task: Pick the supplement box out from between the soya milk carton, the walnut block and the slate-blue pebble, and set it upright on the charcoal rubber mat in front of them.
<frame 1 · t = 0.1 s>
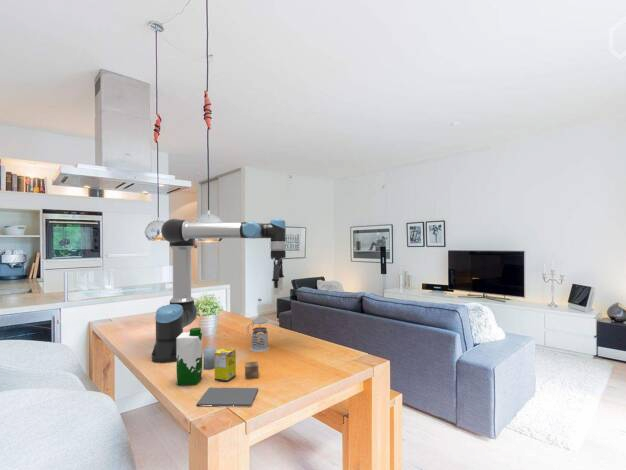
hand: (278, 292, 167), 28 cm above the table, tool pointing down, fingers open, 13 cm apart
charcoal mat: (228, 397, 115), on the table
walnut block: (251, 376, 132), on the table
grey wire-handled lantern: (258, 348, 167), on the table
soya milk: (189, 381, 128), on the table
slate-blue pebble: (209, 367, 142), on the table
supplement box: (225, 378, 131), on the table
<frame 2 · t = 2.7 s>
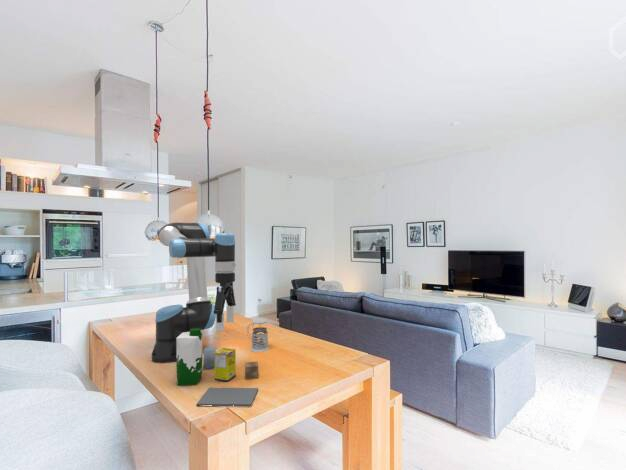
hand: (225, 326, 131), 20 cm above the table, tool pointing down, fingers open, 13 cm apart
nothing on the table moved.
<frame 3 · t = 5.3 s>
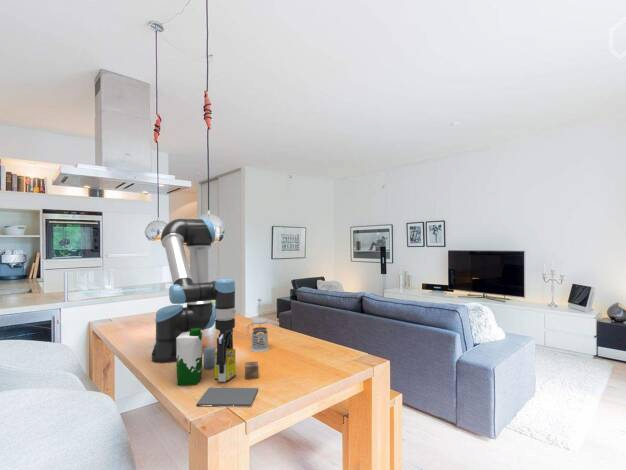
hand: (225, 376, 131), 1 cm above the table, tool pointing down, fingers closed on supplement box, 7 cm apart
supplement box: (225, 378, 131), on the table, touching gripper
everything else where it was.
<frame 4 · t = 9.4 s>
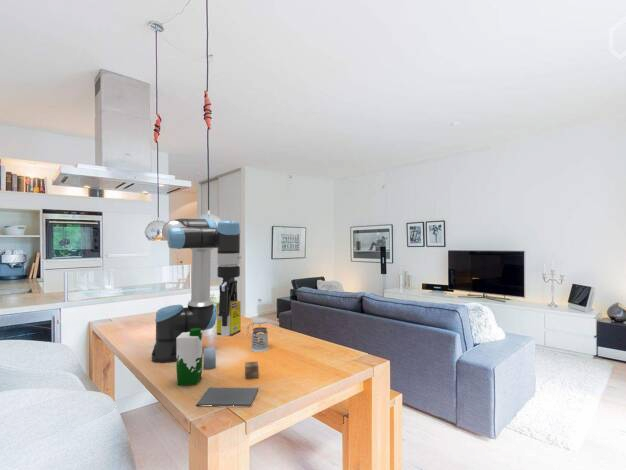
hand: (228, 331, 115), 23 cm above the table, tool pointing down, fingers closed on supplement box, 7 cm apart
supplement box: (228, 334, 115), point 22 cm above the table, touching gripper
everything else where it was.
when the fingers open (3 cm above the table, at t = 13.7 s): supplement box drops 2 cm, resting on charcoal mat.
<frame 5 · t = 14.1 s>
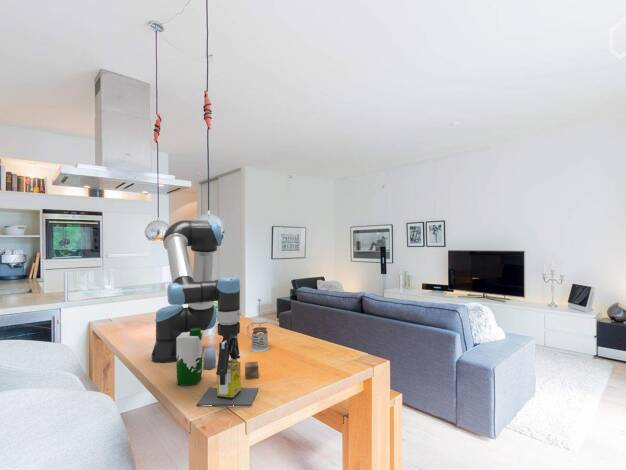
hand: (228, 385, 115), 4 cm above the table, tool pointing down, fingers open, 12 cm apart
supplement box: (229, 395, 115), point 1 cm above the table, touching charcoal mat
everything else where it was.
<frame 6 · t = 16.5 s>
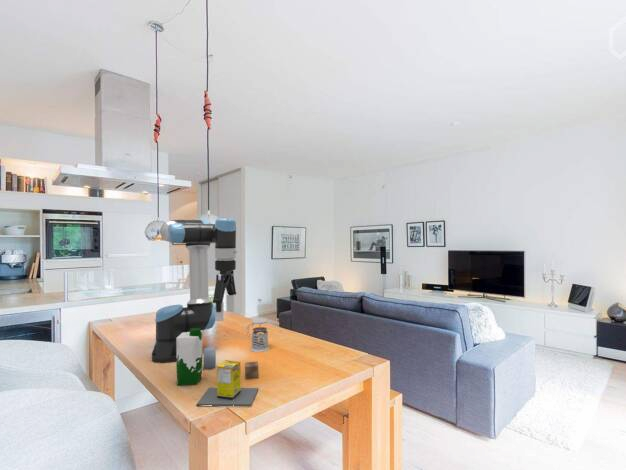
hand: (225, 316, 125), 26 cm above the table, tool pointing down, fingers open, 13 cm apart
nothing on the table moved.
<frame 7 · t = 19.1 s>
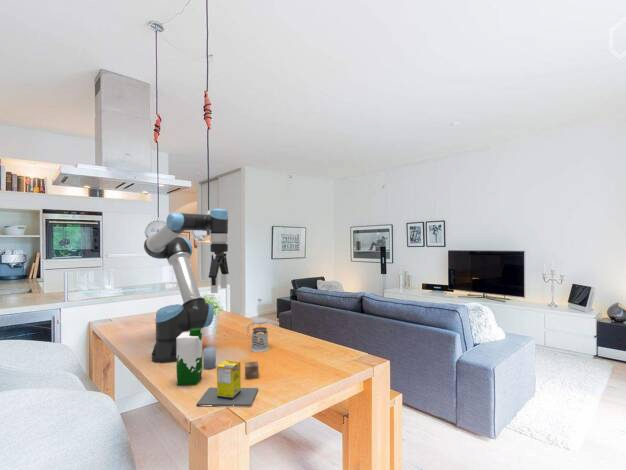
hand: (219, 290, 149), 32 cm above the table, tool pointing down, fingers open, 13 cm apart
nothing on the table moved.
at the end: supplement box inside the target area on the charcoal mat (0.3 cm from its centre), point 0.6 cm above the charcoal mat's base; supplement box tilted 0°; the gripper is holding nothing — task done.
